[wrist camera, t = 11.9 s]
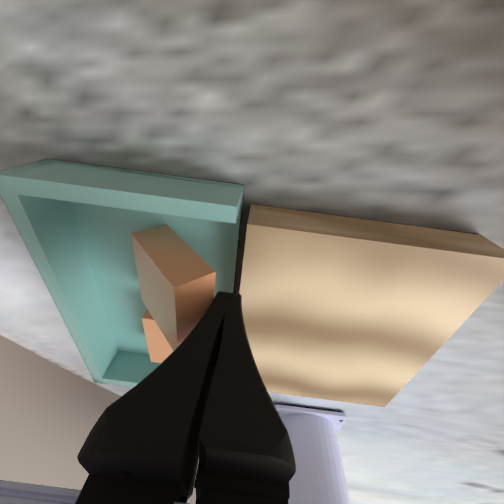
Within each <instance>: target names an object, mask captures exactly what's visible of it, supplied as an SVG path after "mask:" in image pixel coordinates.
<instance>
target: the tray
mask: <svg viewBox="0 0 504 504" xmlns="http://www.w3.org/2000/svg"><path fill="white" fill-rule="evenodd" d="M243 188H244V185H239V184H232V183H224V182H217V181H209V180H202V179H195V178H187V177H180V176H172V175H165V174H157V173H150V172H143V171H135V170H128V169H120V168H113V167H105V166H98V165H91V164H83V163H76V162H68V161H61V160H54V159H44V160H40V161H36V162H32V163H28V164H25V165H21V166H17V167H13V168H9V169H5V170H2V171H0V195H1V197H2V199H3V201H4V203H5V205H6V207H7V209H8V211H9V213H10V215H11V217H12V219H13V221H14V223H15V225H16V227H17V229H18V231H19V233H20V235H21V237H22V239H23V241H24V243H25V245H26V247H27V249H28V251H29V253H30V255H31V257H32V259H33V261H34V263H35V265H36V267H37V269H38V271H39V273H40V275H41V277H42V279H43V280H44V282H45V284H46V286H47V288H48V290H49V292H50V294H51V296H52V298H53V300H54V302H55V304H56V306H57V308H58V310H59V312H60V314H61V316H62V318H63V320H64V322H65V324H66V326H67V328H68V330H69V332H70V334H71V336H72V338H73V340H74V342H75V344H76V346H77V348H78V350H79V352H80V354H81V356H82V358H83V360H84V362H85V364H86V366H87V368H88V370H89V372H90V374H91V376H92V378H93V380H94V382H96V383H104V384H112V385H119V386H127V387H135V386H136V385H137V384H138V383H139V382H141V381H142V380H143V379H144V378H145V377H146V376H148V375H149V374H150V373H151V372H152V371H153V370H155V369H156V368H157V367H158V366H159V365H160V364H161V363H156V362H151V360H150V356H149V351H148V346H147V341H146V337H145V332H144V327H143V322H142V317H143V315H144V313H145V312H146V310H147V308H146V306H145V305H144V303H143V301H142V299H141V293H140V287H139V281H138V275H137V269H136V263H135V258H134V252H133V246H132V240H131V234H130V233H131V232H136V231H140V230H145V229H149V228H154V227H159V226H163V225H168V226H169V227H170V228H171V229H172V230H173V231H174V232H175V233H176V234H177V235H178V236H179V237H180V238H181V239H182V240H183V241H184V242H185V243H187V244H188V245H189V246H190V247H191V248H192V249H193V250H194V251H195V252H196V253H197V254H198V255H199V256H200V257H201V258H202V259H203V260H204V261H205V262H206V263H207V264H208V265H209V266H210V267H212V268H213V269H214V270H215V271H216V277H215V291H214V298H215V296H216V294H217V292H219V291H220V292H228V293H234V282H235V272H236V262H237V251H238V241H239V230H240V220H241V209H242V199H243Z"/></svg>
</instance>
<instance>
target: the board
mask: <svg viewBox="0 0 504 504" xmlns="http://www.w3.org/2000/svg"><path fill="white" fill-rule="evenodd" d="M503 280H504V249H502V248H501V247H499V246H498V245H496V244H494V243H493V242H491V241H490V240H488V239H487V238H485V237H483V236H482V235H478V234H470V233H463V232H456V231H448V230H441V229H433V228H426V227H418V226H411V225H403V224H396V223H388V222H381V221H374V220H366V219H359V218H351V217H344V216H336V215H329V214H321V213H314V212H306V211H299V210H292V209H284V208H277V207H269V206H262V205H254V204H251V207H250V212H249V218H248V223H247V231H246V240H245V248H244V257H243V266H242V274H241V283H240V292H239V294H240V295H241V296H242V313H243V320H244V325H245V329H246V334H247V338H248V341H249V345H250V348H251V351H252V354H253V357H254V360H255V363H256V366H257V368H258V371H259V373H260V376H261V378H262V380H263V383H264V385H265V387H266V389H267V392H272V393H280V394H288V395H295V396H303V397H311V398H319V399H327V400H334V401H342V402H350V403H358V404H366V405H373V406H381V407H385V406H386V405H387V404H388V403H389V402H390V401H391V399H392V398H393V397H394V396H395V395H396V394H397V393H398V392H399V391H400V390H401V389H402V388H403V387H404V386H405V385H406V383H407V382H408V381H409V380H410V379H411V378H412V377H413V376H414V375H415V374H416V373H417V372H418V371H419V370H420V368H421V367H422V366H423V365H424V364H425V363H426V362H427V361H428V360H429V359H430V358H431V357H432V356H433V355H434V353H435V352H436V351H437V350H438V349H439V348H440V347H441V346H442V345H443V344H444V343H445V342H446V341H447V340H448V339H449V337H450V336H451V335H452V334H453V333H454V332H455V331H456V330H457V329H458V328H459V327H460V326H461V325H462V324H463V322H464V321H465V320H466V319H467V318H468V317H469V316H470V315H471V314H472V313H473V312H474V311H475V310H476V309H477V308H478V306H479V305H480V304H481V303H482V302H483V301H484V300H485V299H486V298H487V297H488V296H489V295H490V294H491V293H492V291H493V290H494V289H495V288H496V287H497V286H498V285H499V284H500V283H501V282H502V281H503Z"/></svg>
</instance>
